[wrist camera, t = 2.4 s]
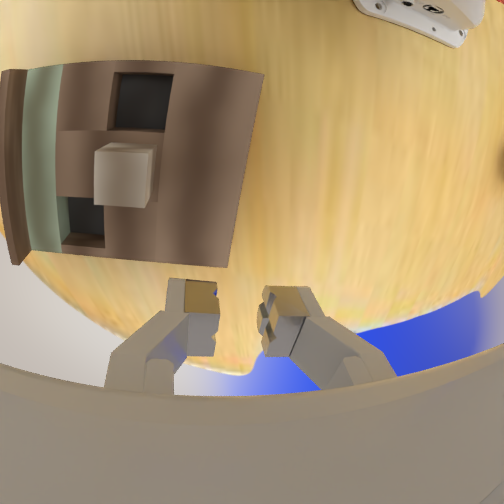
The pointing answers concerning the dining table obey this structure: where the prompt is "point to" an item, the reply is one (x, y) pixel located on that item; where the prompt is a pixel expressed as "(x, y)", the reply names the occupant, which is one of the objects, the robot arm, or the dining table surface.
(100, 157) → the cube
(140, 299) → the dining table surface
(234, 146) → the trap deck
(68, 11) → the dining table surface
